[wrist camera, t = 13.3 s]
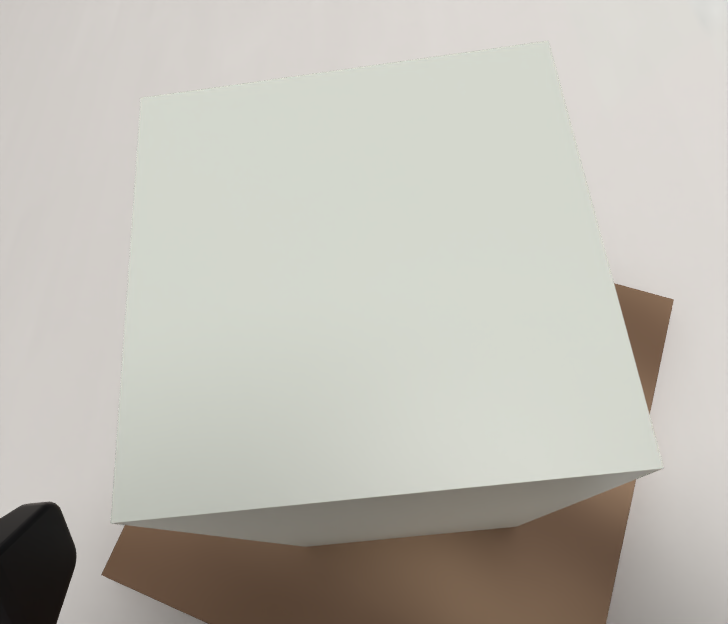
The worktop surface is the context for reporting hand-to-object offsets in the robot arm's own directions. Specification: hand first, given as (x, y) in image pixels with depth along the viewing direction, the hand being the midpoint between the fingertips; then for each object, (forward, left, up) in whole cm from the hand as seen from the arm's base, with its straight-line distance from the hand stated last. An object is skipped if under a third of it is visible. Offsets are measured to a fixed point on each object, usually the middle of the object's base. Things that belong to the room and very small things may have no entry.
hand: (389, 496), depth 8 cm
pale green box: (+3, +1, -11) cm, 11 cm away
